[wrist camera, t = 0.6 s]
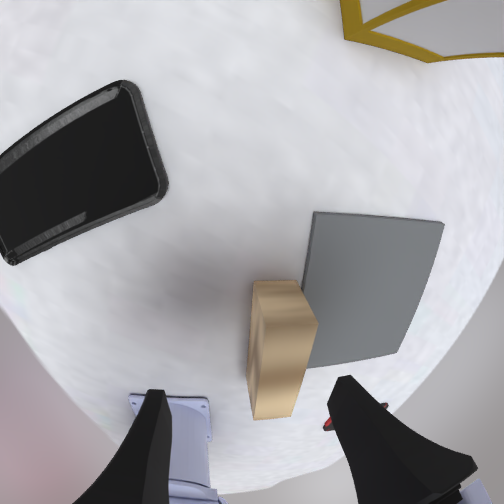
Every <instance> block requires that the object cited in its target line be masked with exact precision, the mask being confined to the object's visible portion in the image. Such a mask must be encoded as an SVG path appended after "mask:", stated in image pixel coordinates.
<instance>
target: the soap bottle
mask: <svg viewBox="0 0 504 504" xmlns="http://www.w3.org/2000/svg"><path fill="white" fill-rule="evenodd" d="M340 5H341V13H342V21H343V29H344V39H345V40H349V41H354V42H359V43H363V44H367V45H371V46H375V47H379V48H383V49H386V50H390V51H393V52H397V53H400V54H403V55H406V56H409V57H412V58H415V59H418V60H420V61H423V62H426V63H432V62H439V61H447V60H457V59H469V58H487V57H504V0H340Z"/></svg>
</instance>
